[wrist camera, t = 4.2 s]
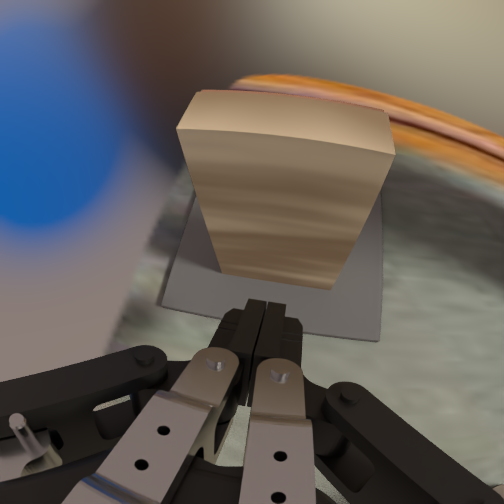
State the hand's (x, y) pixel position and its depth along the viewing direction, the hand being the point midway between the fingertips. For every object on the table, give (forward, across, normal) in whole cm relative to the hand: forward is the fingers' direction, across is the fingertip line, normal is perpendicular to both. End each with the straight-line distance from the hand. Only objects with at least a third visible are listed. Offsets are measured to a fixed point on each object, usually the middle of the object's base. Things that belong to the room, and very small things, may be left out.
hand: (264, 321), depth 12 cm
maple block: (+8, 0, +1) cm, 8 cm away
